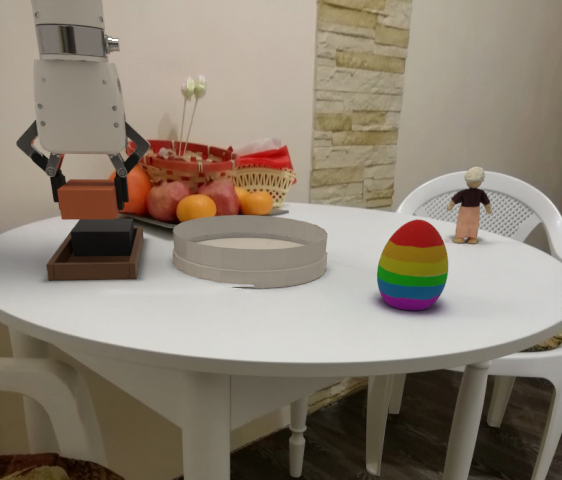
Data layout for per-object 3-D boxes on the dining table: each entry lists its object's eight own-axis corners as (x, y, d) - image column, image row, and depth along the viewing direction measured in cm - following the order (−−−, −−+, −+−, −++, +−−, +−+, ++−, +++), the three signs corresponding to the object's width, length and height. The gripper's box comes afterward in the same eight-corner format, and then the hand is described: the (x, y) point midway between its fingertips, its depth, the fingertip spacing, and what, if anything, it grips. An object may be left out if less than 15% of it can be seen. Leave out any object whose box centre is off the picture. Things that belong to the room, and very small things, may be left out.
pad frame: (49, 285, 68) (45, 264, 67) (75, 243, 87) (73, 226, 85) (136, 283, 70) (134, 263, 68) (143, 243, 88) (142, 226, 87)
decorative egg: (399, 288, 72) (410, 210, 67) (454, 305, 66) (470, 222, 62) (360, 301, 66) (369, 217, 62) (416, 320, 61) (430, 230, 57)
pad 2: (73, 256, 78) (70, 231, 76) (82, 241, 86) (79, 218, 84) (131, 255, 79) (129, 231, 77) (135, 240, 87) (133, 218, 86)
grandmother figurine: (478, 239, 100) (492, 165, 94) (487, 244, 96) (503, 168, 90) (437, 239, 99) (450, 164, 93) (446, 244, 95) (459, 167, 90)
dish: (212, 240, 91) (211, 210, 89) (340, 255, 86) (343, 223, 84) (143, 275, 73) (140, 238, 70) (302, 297, 67) (305, 257, 65)
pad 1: (61, 219, 66) (57, 189, 65) (73, 206, 74) (69, 179, 73) (116, 219, 67) (112, 189, 66) (121, 206, 75) (119, 179, 74)
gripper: (151, 53, 67) (161, 203, 75) (1, 46, 64) (28, 203, 72) (149, 48, 61) (160, 213, 69) (-19, 41, 58) (14, 214, 66)
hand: (92, 207), depth 70 cm, fingers closed on pad 1, 6 cm apart
